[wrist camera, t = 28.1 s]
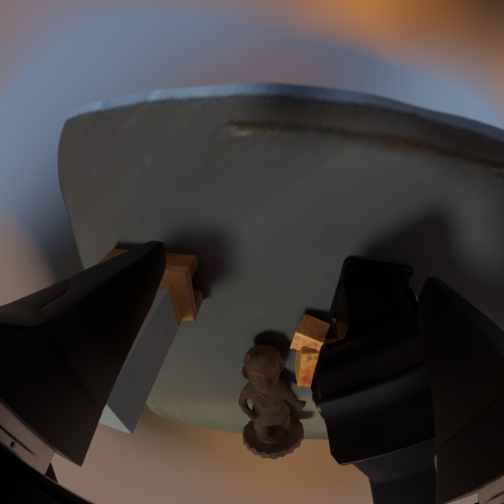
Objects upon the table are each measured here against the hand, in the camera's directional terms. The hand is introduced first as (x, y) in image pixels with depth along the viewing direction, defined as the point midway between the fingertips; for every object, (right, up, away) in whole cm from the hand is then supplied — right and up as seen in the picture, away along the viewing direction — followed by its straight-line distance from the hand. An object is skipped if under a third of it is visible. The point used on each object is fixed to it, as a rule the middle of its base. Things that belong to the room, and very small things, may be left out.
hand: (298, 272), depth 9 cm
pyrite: (+7, -8, +16) cm, 19 cm away
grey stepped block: (-12, -4, +16) cm, 20 cm away
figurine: (+2, -27, +27) cm, 38 cm away
